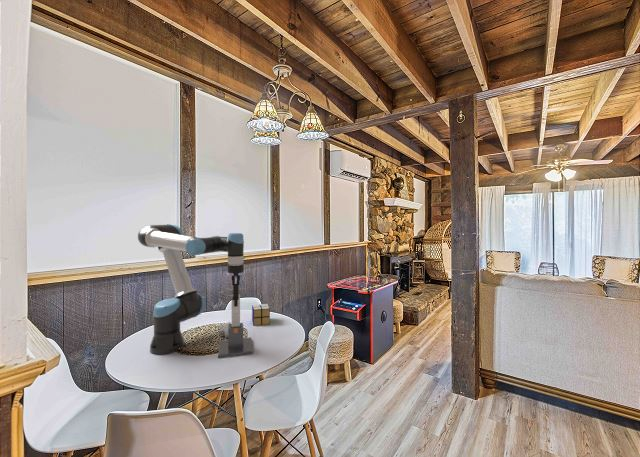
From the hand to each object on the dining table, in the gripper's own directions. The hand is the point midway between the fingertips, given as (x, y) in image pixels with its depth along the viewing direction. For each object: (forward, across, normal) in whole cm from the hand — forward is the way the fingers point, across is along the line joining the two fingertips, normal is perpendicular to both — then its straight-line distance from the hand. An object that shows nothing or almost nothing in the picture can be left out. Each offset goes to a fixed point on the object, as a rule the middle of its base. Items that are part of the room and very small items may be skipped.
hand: (235, 310), depth 143 cm
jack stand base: (+19, 0, 0) cm, 19 cm away
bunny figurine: (+19, +20, +5) cm, 29 cm away
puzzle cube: (+19, +33, -15) cm, 41 cm away
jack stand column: (+11, 0, 0) cm, 11 cm away
